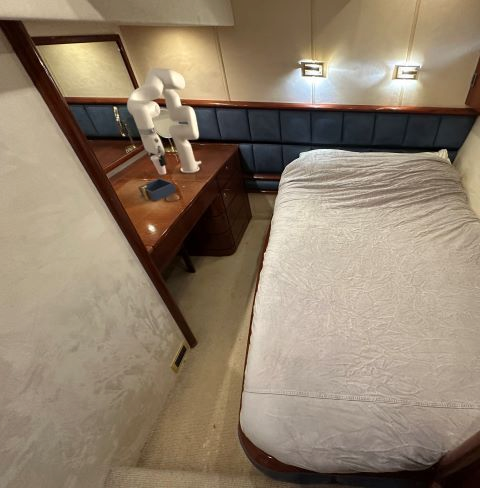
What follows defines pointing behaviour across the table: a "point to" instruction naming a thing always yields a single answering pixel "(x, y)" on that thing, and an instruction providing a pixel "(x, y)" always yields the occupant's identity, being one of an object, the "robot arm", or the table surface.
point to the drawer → (157, 189)
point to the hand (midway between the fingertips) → (159, 163)
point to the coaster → (172, 198)
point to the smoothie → (158, 165)
